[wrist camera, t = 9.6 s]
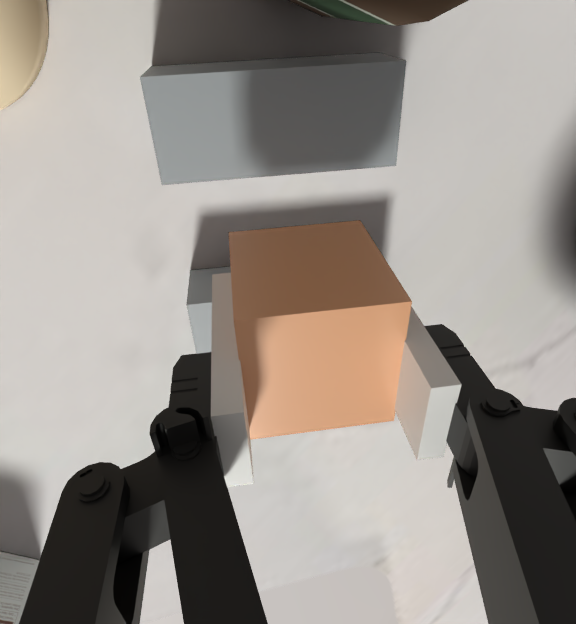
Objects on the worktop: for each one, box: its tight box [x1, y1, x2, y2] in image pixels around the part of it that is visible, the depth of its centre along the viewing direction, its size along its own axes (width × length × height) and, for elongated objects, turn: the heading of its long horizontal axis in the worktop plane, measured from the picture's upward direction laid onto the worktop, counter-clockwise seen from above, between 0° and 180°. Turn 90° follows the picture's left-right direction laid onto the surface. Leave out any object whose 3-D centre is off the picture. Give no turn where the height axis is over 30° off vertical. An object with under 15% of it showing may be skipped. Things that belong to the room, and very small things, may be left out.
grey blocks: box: [140, 53, 406, 354], centre depth 22 cm, size 10×14×4 cm
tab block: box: [228, 220, 412, 439], centre depth 14 cm, size 4×4×5 cm
